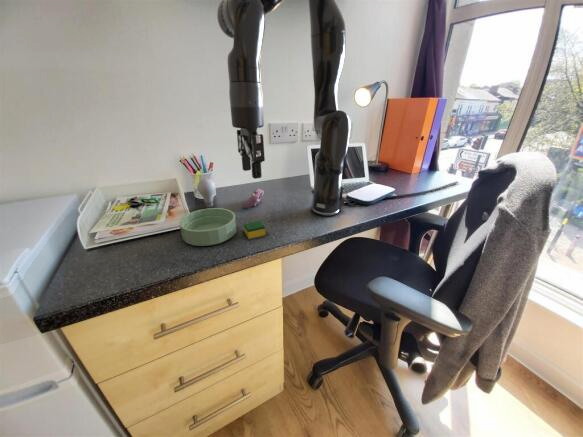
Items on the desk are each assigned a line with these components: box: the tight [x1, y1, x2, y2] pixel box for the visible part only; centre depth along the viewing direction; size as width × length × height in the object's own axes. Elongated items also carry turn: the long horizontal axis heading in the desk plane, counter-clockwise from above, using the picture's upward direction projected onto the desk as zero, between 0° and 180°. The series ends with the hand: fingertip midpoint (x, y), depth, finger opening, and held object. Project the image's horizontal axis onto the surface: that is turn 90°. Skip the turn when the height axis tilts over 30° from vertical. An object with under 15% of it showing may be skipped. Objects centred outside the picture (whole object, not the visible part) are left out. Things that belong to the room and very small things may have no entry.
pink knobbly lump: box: [242, 188, 265, 209], centre depth 89 cm, size 10×5×7 cm, turn 168°
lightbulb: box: [196, 178, 217, 209], centre depth 84 cm, size 6×6×11 cm
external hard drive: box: [345, 183, 396, 206], centre depth 98 cm, size 24×12×2 cm, turn 132°
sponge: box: [243, 220, 266, 240], centre depth 69 cm, size 5×4×3 cm
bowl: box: [178, 207, 238, 247], centre depth 69 cm, size 15×15×5 cm
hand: (251, 173), depth 62 cm, fingers open, 8 cm apart
